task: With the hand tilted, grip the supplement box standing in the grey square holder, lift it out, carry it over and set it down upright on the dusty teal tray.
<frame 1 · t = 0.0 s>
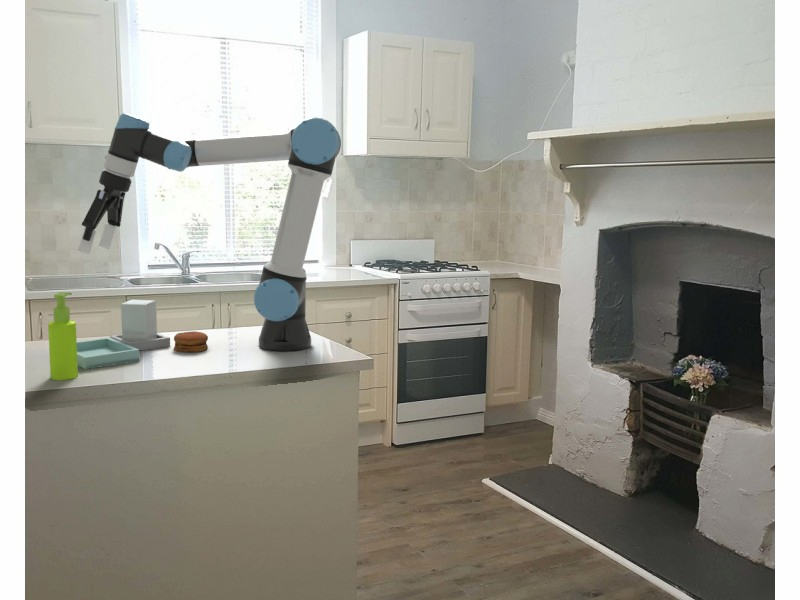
hand: (94, 249, 191), 28 cm above the countertop, tool tilted 20°, fingers open, 13 cm apart
burger: (190, 350, 203), on the countertop
supplement box: (140, 346, 205), resting in holder
soap dispenser: (65, 376, 172), on the countertop
holder: (140, 345, 204), on the countertop
tray: (98, 358, 189), on the countertop
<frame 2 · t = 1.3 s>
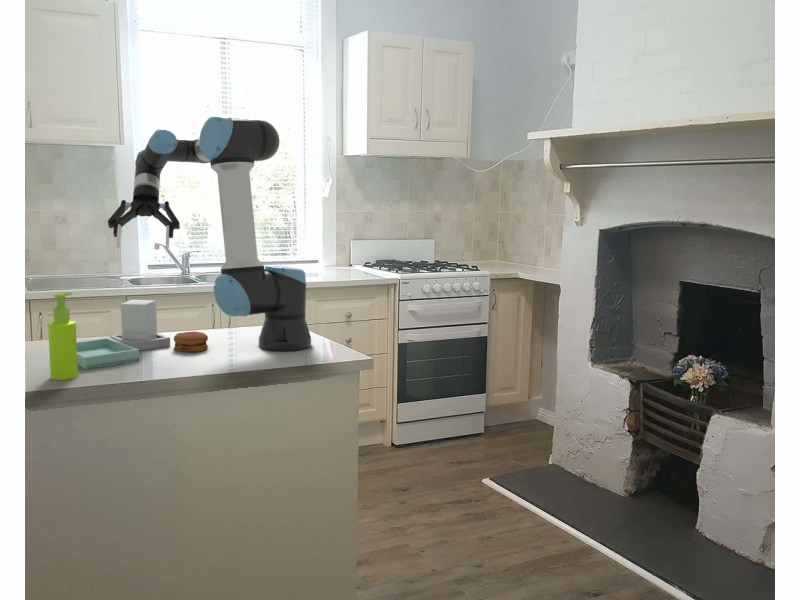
hand: (142, 245, 211), 27 cm above the countertop, tool tilted 45°, fingers open, 13 cm apart
nothing on the countertop moved.
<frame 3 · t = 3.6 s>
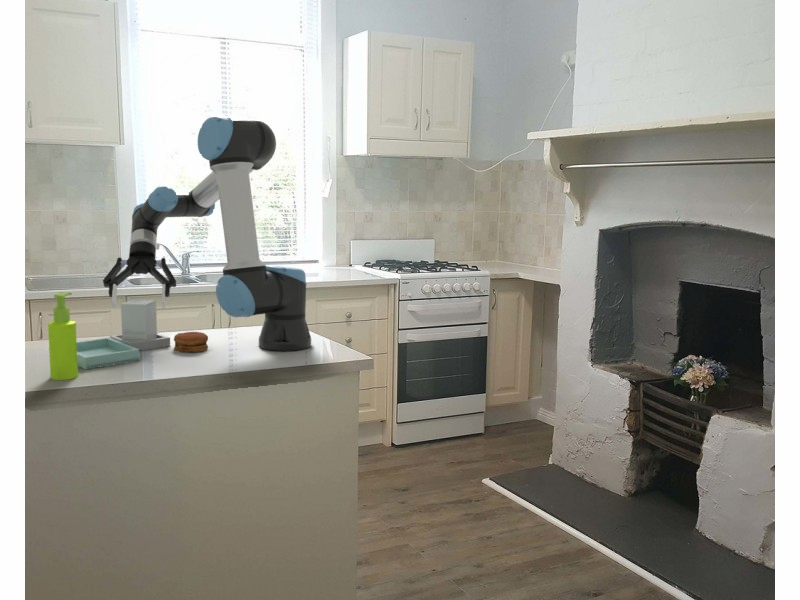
hand: (138, 305, 207), 11 cm above the countertop, tool tilted 45°, fingers open, 13 cm apart
nothing on the countertop moved.
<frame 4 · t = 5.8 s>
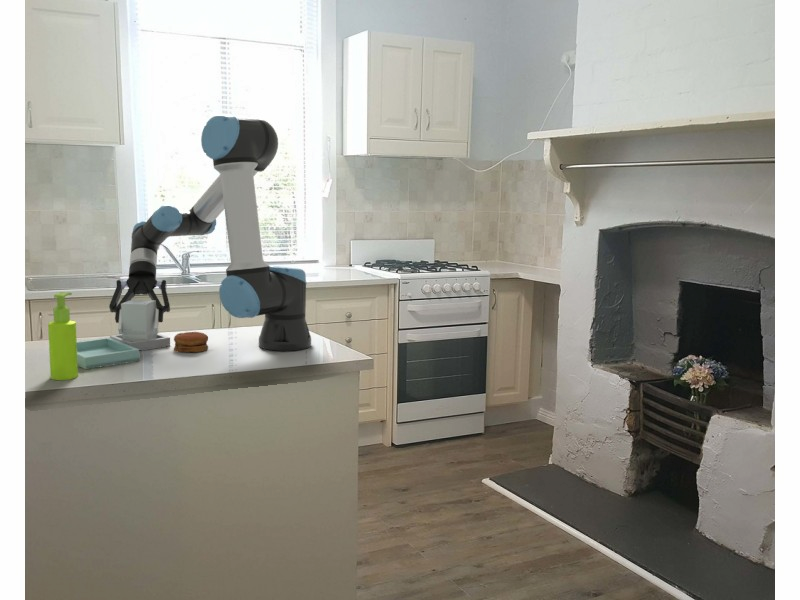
hand: (138, 331, 201), 5 cm above the countertop, tool tilted 45°, fingers closed on supplement box, 9 cm apart
supplement box: (140, 346, 205), resting in holder, touching gripper
everything else where it was.
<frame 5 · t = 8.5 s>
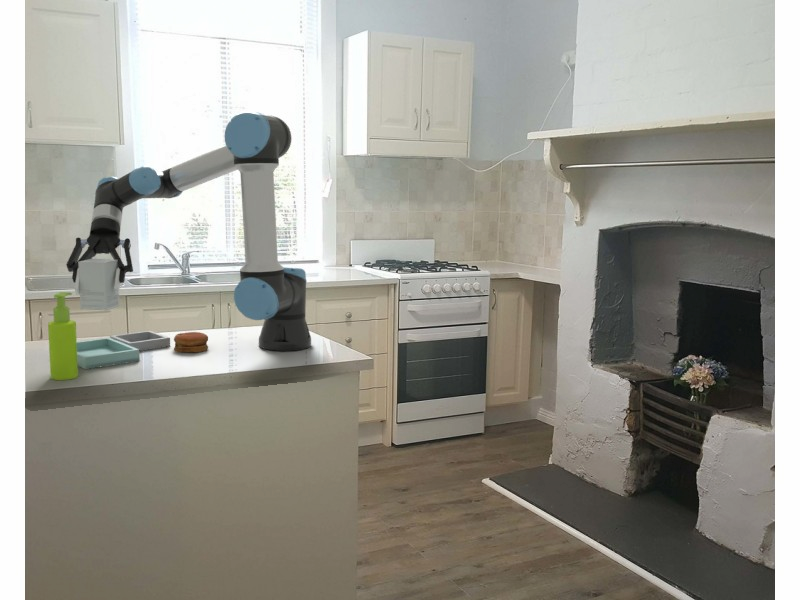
hand: (96, 291, 186), 18 cm above the countertop, tool tilted 45°, fingers closed on supplement box, 9 cm apart
supplement box: (100, 308, 190), point 13 cm above the countertop, touching gripper
everything else where it was.
when the fingers open (7 cm above the countertop, at t = 11.3 s): supplement box drops 1 cm, resting on tray.
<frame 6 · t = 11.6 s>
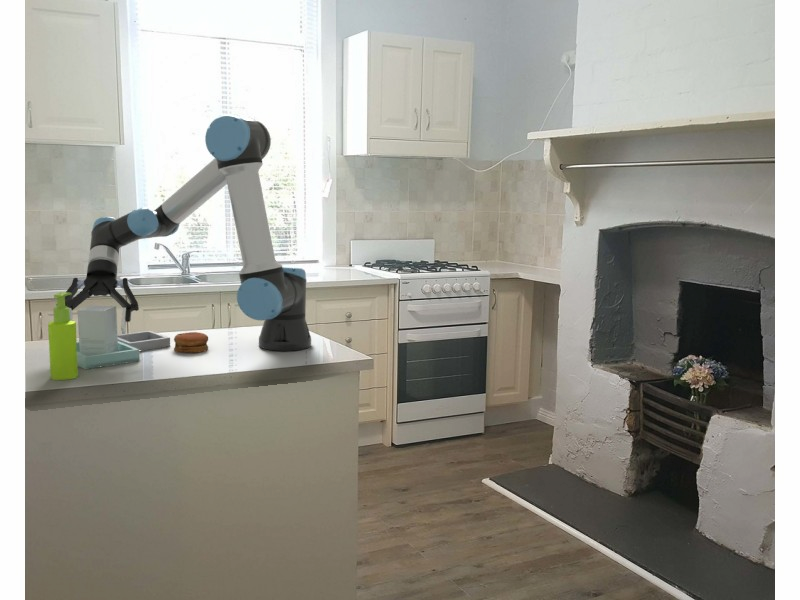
hand: (95, 331, 185), 8 cm above the countertop, tool tilted 45°, fingers open, 13 cm apart
supplement box: (99, 355, 189), point 1 cm above the countertop, touching tray
everything else where it was.
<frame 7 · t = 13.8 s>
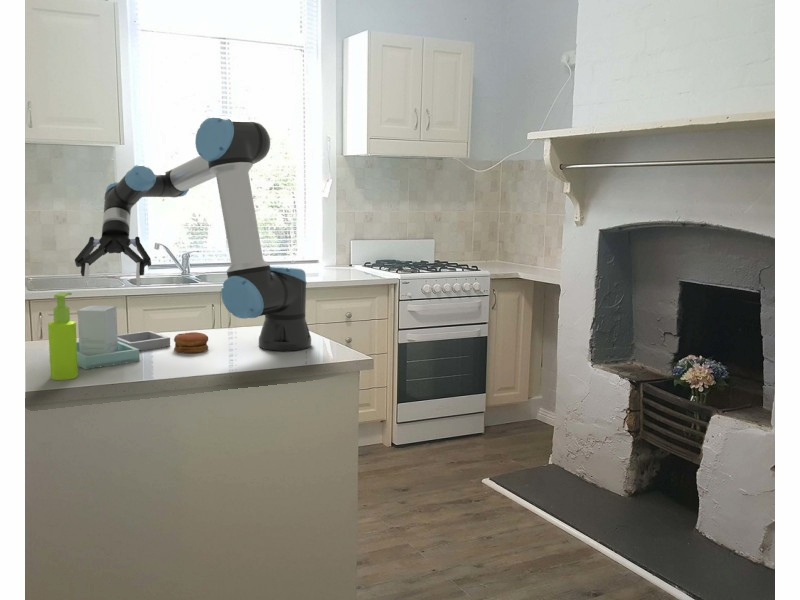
hand: (112, 284, 202), 17 cm above the countertop, tool tilted 45°, fingers open, 13 cm apart
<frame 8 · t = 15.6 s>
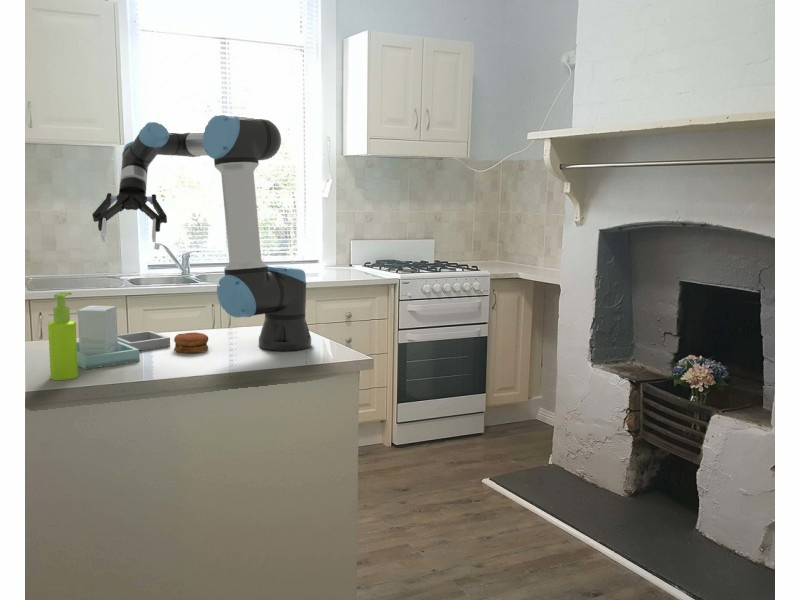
hand: (128, 238, 205), 30 cm above the countertop, tool tilted 45°, fingers open, 13 cm apart
at the end: supplement box inside the target area on the tray (0.3 cm from its centre), point 0.6 cm above the tray's base; supplement box tilted 0°; the gripper is holding nothing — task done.
